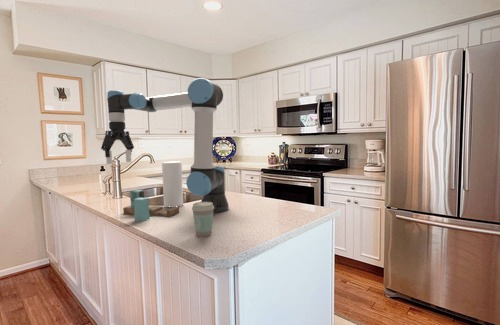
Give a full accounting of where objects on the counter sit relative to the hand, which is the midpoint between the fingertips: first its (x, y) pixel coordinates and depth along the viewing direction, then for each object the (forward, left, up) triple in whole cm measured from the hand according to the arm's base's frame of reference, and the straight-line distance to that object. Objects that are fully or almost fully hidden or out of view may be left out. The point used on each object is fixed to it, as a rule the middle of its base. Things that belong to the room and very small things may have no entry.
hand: (119, 162), depth 144 cm
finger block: (-20, +10, -26) cm, 34 cm away
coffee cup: (-58, +23, -26) cm, 68 cm away
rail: (-17, -1, -26) cm, 31 cm away
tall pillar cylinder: (-19, -19, -26) cm, 37 cm away
